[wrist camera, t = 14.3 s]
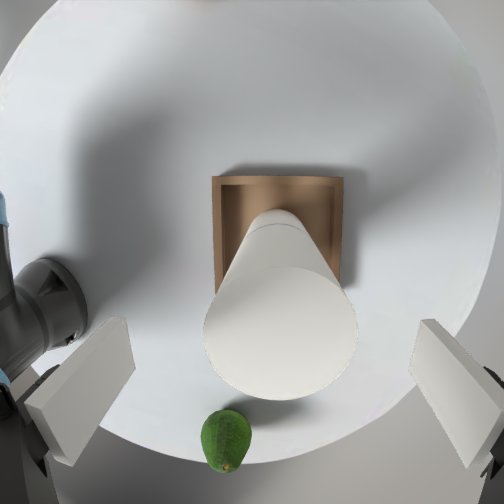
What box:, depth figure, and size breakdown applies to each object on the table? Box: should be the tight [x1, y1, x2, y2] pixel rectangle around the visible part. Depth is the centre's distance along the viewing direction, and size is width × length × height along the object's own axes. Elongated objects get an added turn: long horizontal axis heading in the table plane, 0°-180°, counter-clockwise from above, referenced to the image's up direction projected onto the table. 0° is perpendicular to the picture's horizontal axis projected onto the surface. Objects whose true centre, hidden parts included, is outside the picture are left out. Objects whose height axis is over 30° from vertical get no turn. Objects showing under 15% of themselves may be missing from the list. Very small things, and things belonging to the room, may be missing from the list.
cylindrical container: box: [203, 209, 358, 400], centre depth 26 cm, size 7×7×25 cm
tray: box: [212, 176, 343, 294], centre depth 37 cm, size 15×15×3 cm
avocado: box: [201, 410, 252, 473], centre depth 40 cm, size 8×8×12 cm
